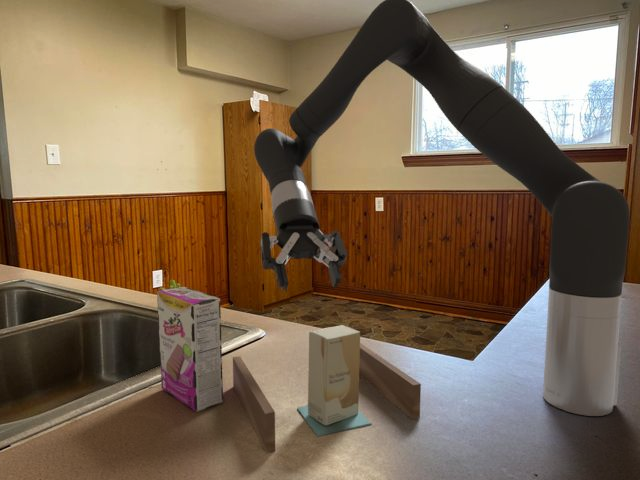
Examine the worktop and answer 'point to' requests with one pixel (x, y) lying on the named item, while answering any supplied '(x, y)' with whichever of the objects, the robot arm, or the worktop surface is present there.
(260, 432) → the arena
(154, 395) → the worktop surface
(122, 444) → the worktop surface
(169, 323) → the candy bar box
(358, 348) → the skincare box
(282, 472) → the worktop surface
